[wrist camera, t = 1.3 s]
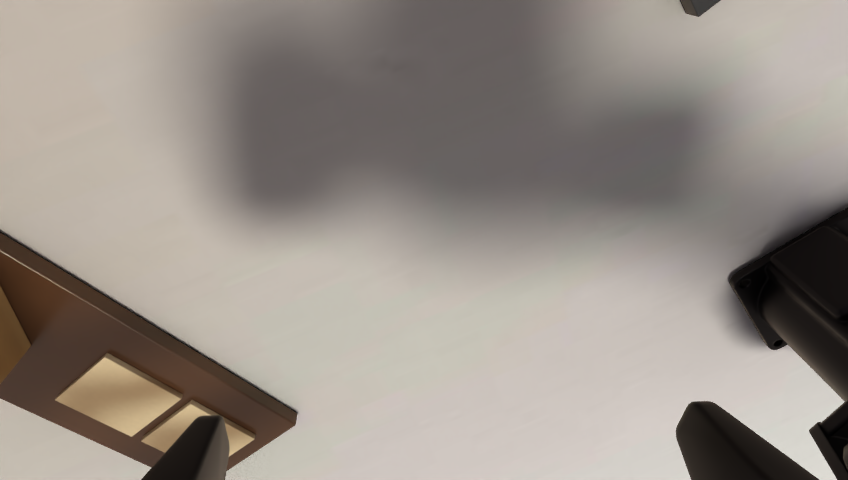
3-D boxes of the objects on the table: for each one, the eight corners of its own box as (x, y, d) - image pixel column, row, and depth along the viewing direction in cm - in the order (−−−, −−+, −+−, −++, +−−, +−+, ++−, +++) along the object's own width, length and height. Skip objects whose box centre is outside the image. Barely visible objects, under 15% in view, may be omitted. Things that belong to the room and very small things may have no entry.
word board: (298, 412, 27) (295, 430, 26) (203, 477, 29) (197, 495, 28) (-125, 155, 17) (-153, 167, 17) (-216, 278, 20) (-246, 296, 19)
